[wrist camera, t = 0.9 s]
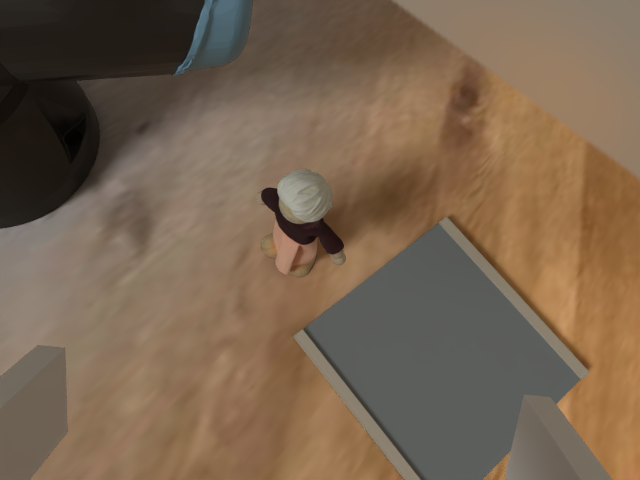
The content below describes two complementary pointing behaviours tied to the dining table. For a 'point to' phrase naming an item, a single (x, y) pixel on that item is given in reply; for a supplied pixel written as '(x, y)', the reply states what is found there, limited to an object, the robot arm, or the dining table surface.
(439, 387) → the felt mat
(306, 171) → the grandmother figurine
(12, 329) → the dining table surface
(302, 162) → the dining table surface
